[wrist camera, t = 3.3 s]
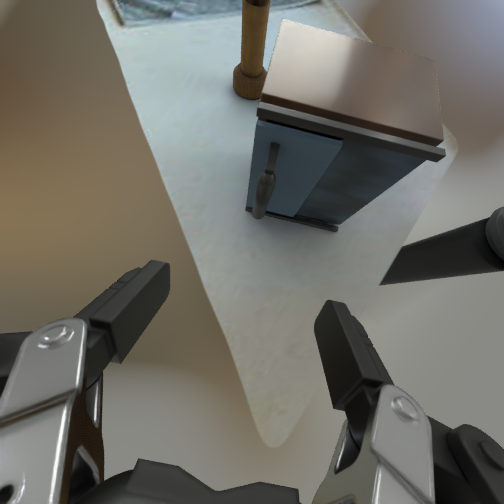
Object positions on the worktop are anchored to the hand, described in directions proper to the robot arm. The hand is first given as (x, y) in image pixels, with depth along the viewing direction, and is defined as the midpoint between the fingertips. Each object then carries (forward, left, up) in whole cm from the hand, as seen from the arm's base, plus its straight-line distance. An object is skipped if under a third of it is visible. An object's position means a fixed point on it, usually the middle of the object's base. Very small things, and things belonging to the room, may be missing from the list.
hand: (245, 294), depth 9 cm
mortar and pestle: (+7, -40, -17) cm, 44 cm away
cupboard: (-5, -20, -17) cm, 27 cm away
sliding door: (-2, -12, -15) cm, 19 cm away
